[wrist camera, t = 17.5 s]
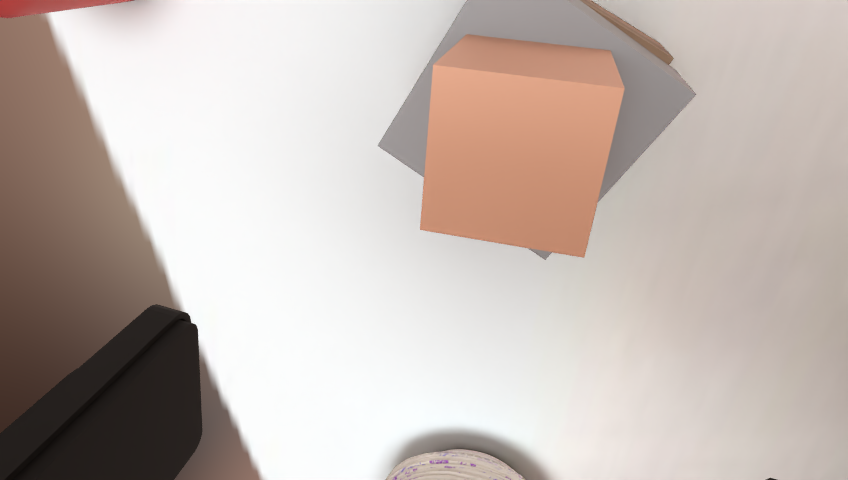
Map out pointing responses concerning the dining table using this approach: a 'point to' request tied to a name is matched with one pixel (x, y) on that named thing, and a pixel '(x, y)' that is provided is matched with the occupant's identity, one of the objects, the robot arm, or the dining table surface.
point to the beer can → (46, 6)
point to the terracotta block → (519, 142)
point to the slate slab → (564, 25)
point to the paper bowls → (453, 467)
